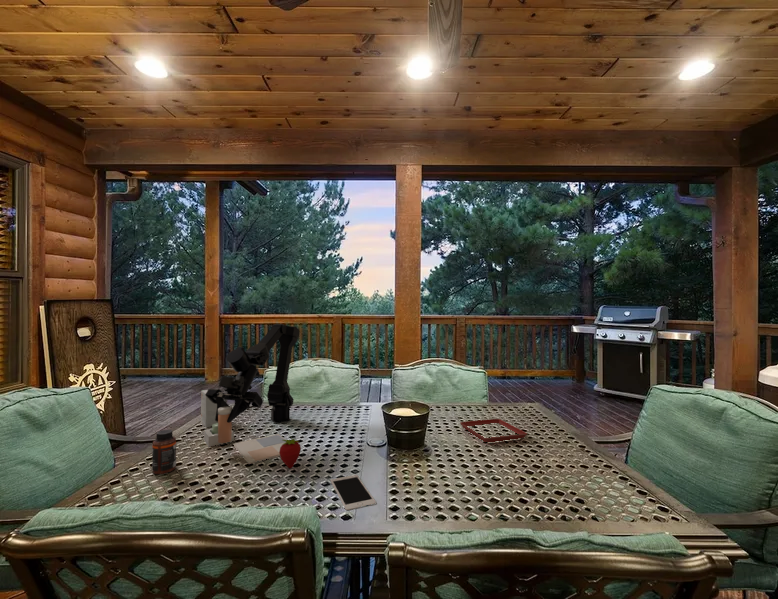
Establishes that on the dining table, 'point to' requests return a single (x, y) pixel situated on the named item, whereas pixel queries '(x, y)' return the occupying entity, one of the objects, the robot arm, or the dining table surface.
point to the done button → (215, 428)
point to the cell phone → (352, 492)
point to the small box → (207, 410)
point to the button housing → (213, 438)
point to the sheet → (260, 448)
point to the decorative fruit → (290, 452)
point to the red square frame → (493, 439)
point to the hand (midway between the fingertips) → (222, 421)
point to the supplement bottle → (164, 452)
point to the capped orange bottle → (224, 425)
